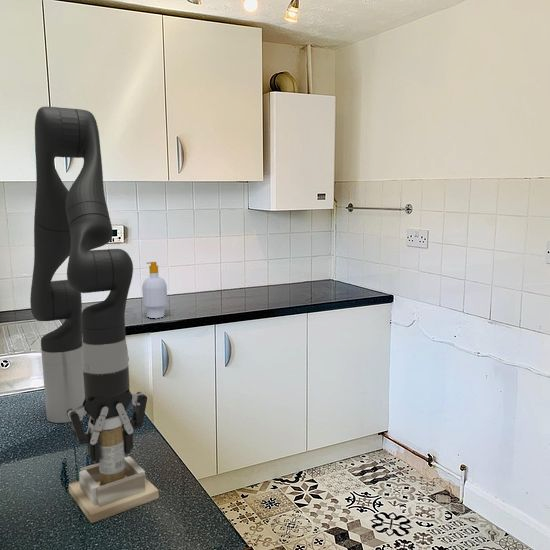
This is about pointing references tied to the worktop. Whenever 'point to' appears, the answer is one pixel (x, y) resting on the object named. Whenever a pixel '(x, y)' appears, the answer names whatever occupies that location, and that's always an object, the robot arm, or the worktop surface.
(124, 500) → the collar base
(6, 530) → the worktop surface
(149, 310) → the soap bottle
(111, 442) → the sprinkles bottle
